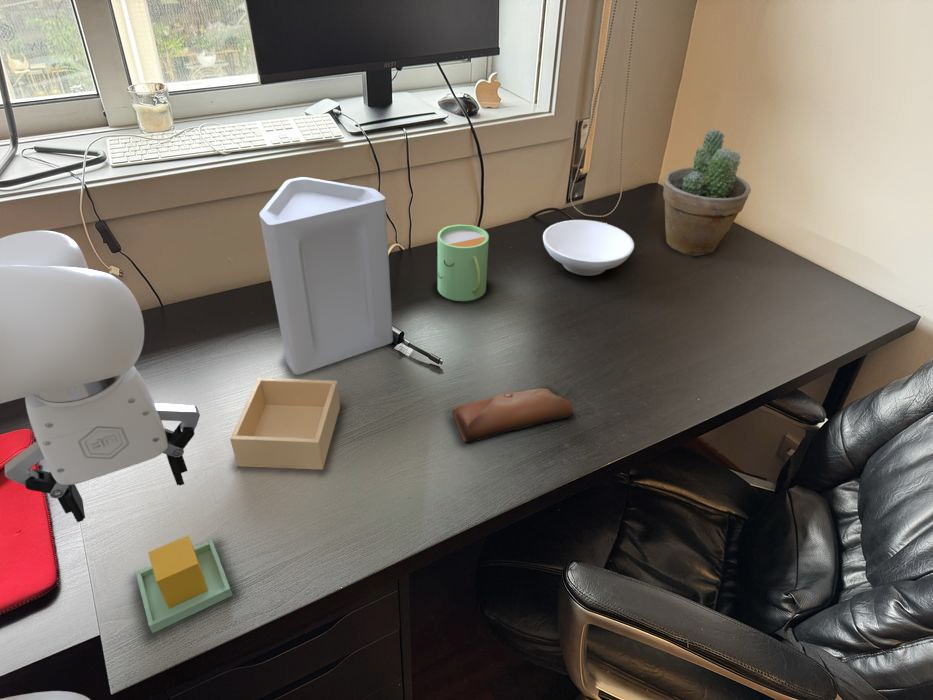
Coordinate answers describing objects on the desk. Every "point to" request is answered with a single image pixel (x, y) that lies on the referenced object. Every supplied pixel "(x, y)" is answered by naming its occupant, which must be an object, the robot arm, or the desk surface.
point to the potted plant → (703, 198)
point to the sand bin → (286, 424)
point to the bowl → (587, 246)
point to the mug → (462, 262)
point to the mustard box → (177, 571)
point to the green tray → (217, 592)
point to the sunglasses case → (509, 413)
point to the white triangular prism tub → (328, 270)
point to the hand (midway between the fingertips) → (130, 493)
